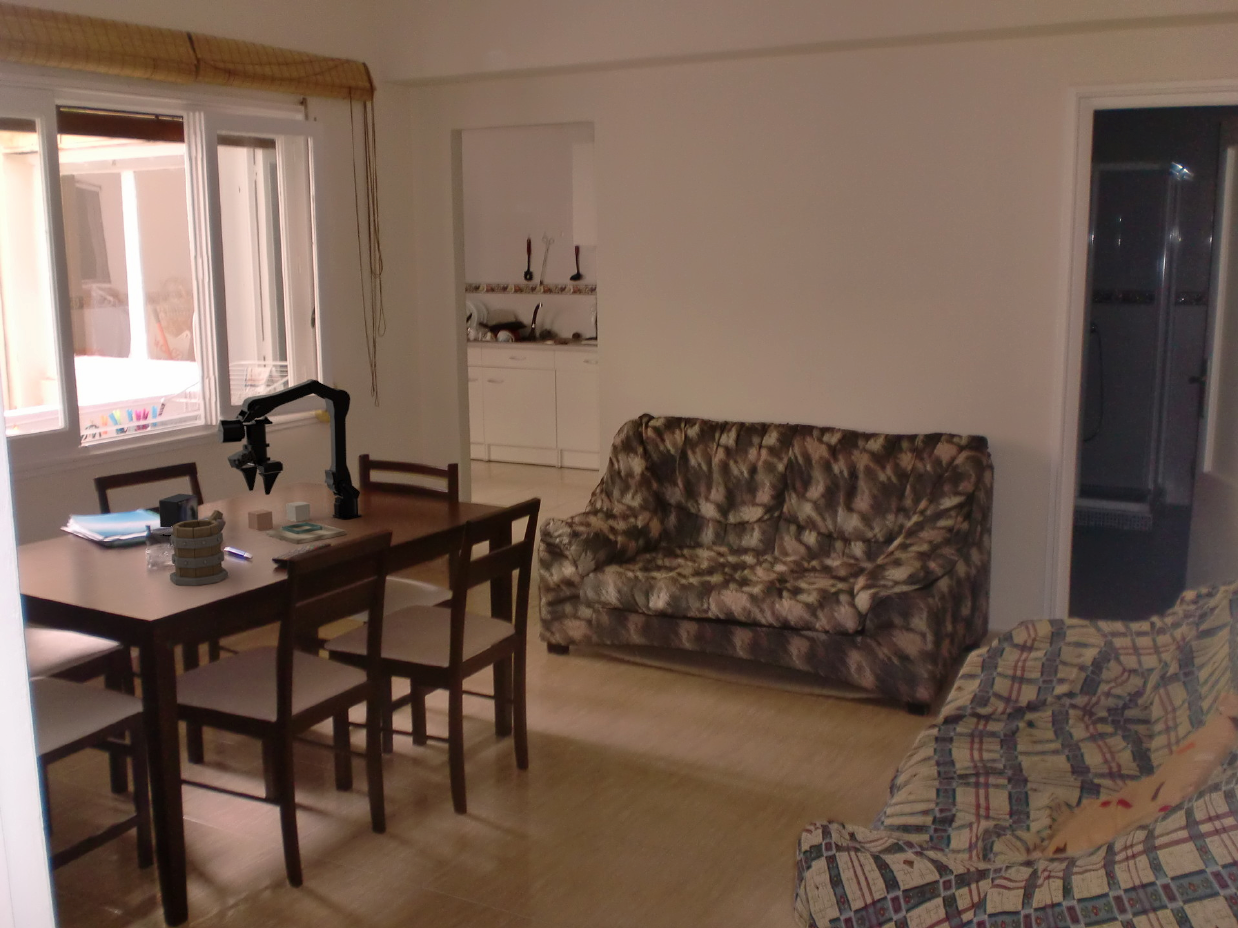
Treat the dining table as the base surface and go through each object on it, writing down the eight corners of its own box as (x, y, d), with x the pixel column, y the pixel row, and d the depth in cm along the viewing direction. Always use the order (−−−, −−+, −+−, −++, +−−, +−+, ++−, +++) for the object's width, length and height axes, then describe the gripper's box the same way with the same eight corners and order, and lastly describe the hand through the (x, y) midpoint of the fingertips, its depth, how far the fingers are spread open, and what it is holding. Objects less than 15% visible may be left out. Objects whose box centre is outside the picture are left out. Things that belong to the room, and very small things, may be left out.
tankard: (210, 586, 279) (206, 526, 276) (161, 584, 281) (157, 524, 278) (249, 566, 298) (246, 509, 295) (203, 564, 300) (200, 507, 298)
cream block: (301, 517, 356) (300, 501, 356) (310, 519, 353) (309, 503, 352) (287, 519, 353) (286, 503, 352) (296, 522, 349) (295, 505, 349)
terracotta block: (264, 525, 345) (263, 509, 344) (272, 527, 342) (272, 511, 341) (248, 528, 341) (247, 511, 341) (257, 530, 338) (256, 514, 337)
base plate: (314, 526, 343) (314, 518, 343) (345, 534, 333) (345, 527, 332) (266, 535, 332) (266, 527, 332) (296, 544, 321) (296, 536, 321)
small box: (180, 537, 330) (177, 501, 328) (159, 536, 331) (157, 500, 330) (200, 528, 340) (198, 494, 339) (180, 527, 342) (178, 493, 340)
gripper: (214, 440, 337) (217, 492, 340) (247, 446, 325) (250, 501, 328) (249, 436, 346) (252, 487, 348) (282, 442, 333) (285, 495, 336)
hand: (259, 492), depth 340 cm, fingers open, 9 cm apart
